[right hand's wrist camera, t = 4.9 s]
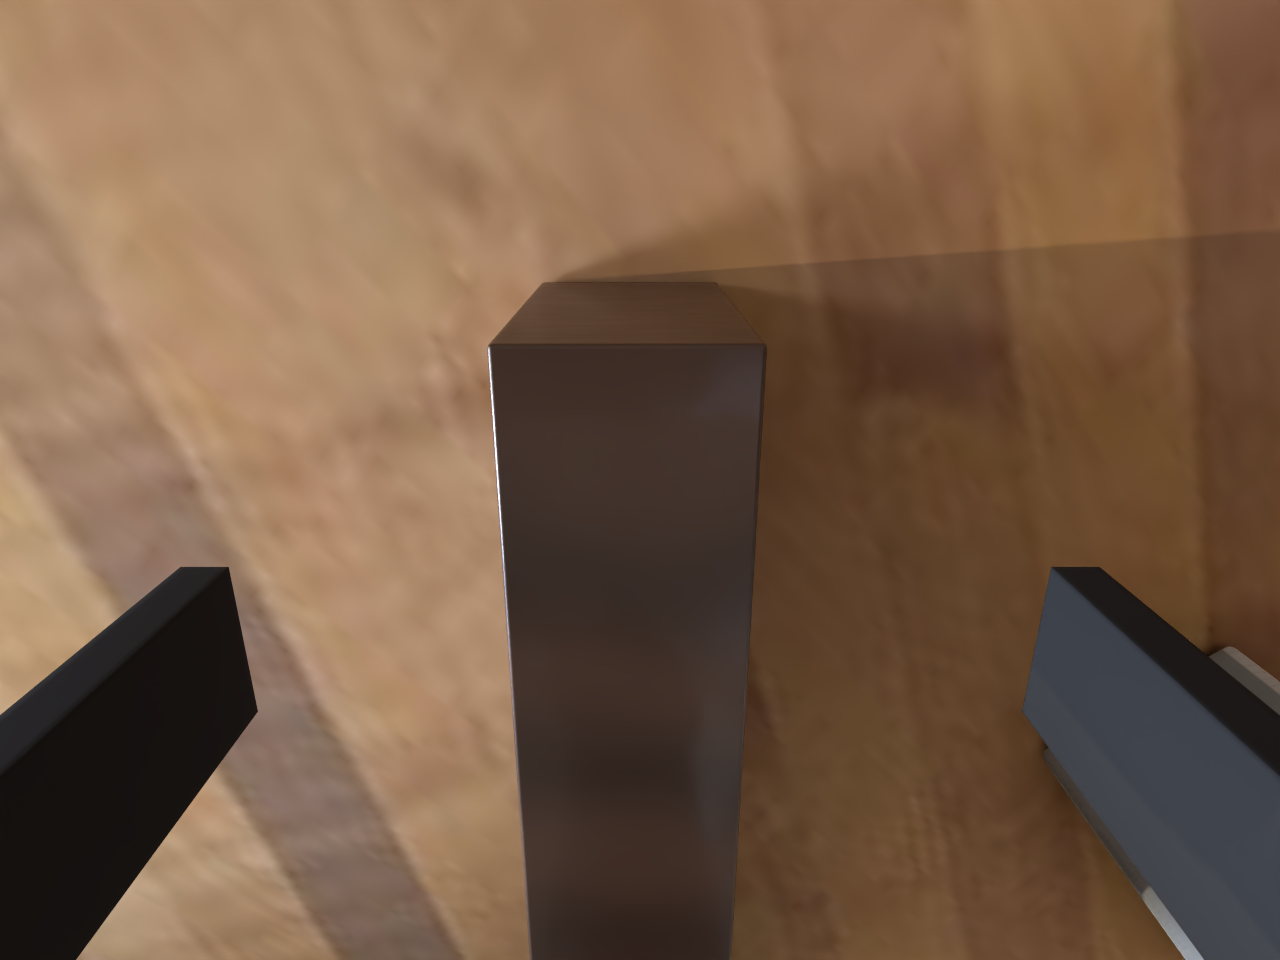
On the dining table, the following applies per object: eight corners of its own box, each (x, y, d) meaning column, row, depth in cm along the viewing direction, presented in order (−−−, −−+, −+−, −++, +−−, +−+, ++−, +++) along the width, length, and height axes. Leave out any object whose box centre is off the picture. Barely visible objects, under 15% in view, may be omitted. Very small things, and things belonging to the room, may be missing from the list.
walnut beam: (690, 1042, 34) (710, 1328, 25) (574, 1043, 34) (555, 1330, 25) (717, 282, 22) (767, 343, 14) (541, 282, 22) (485, 344, 14)
